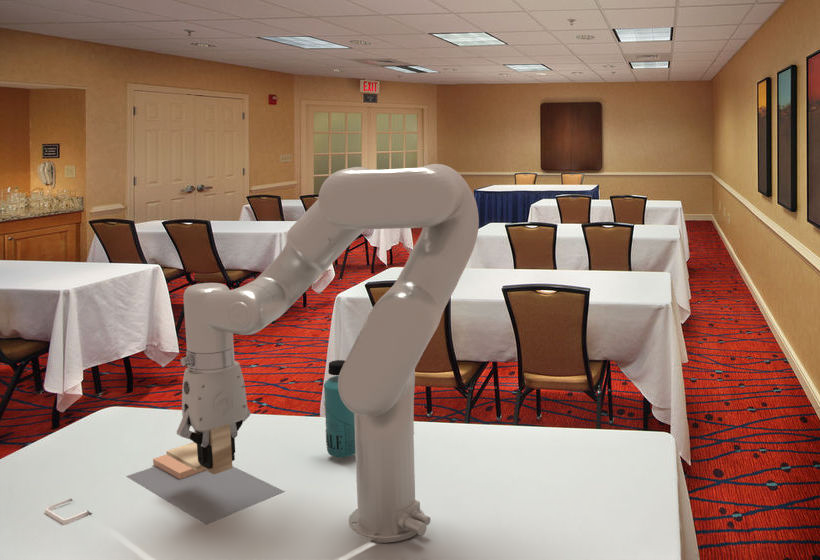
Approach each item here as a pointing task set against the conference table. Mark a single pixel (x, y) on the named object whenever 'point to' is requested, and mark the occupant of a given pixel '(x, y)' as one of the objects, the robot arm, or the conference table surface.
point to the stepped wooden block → (220, 451)
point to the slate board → (207, 491)
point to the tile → (174, 467)
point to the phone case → (67, 520)
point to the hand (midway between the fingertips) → (217, 461)
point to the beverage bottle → (338, 417)
